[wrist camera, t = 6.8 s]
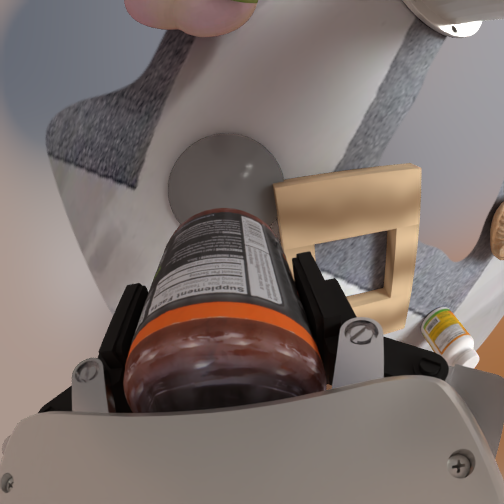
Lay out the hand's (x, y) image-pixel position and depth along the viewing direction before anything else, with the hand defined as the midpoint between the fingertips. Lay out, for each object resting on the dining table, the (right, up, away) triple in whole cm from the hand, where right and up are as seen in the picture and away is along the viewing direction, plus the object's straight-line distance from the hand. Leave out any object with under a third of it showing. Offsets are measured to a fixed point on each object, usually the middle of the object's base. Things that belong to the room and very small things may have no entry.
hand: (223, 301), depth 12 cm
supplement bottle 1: (0, +2, +3) cm, 4 cm away
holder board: (+11, +1, +18) cm, 21 cm away
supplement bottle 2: (+27, -8, +24) cm, 37 cm away
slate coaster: (-1, +7, +14) cm, 15 cm away
